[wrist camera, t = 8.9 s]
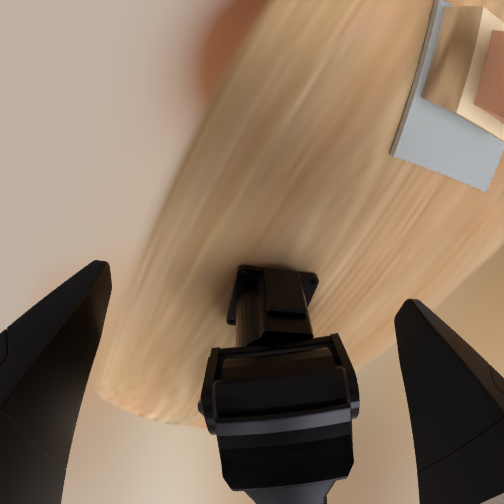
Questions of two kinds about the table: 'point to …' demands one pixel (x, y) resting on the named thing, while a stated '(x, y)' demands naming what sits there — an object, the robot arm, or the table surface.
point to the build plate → (443, 129)
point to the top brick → (493, 79)
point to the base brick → (462, 65)
